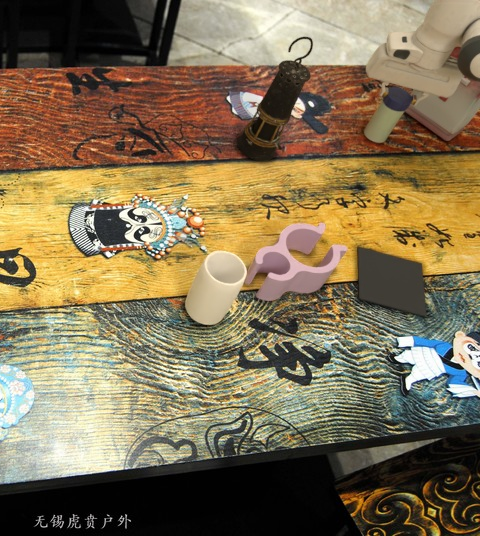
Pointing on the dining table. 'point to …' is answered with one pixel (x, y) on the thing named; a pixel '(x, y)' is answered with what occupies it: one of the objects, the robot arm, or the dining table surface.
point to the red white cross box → (448, 108)
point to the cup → (215, 287)
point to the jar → (382, 123)
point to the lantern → (275, 109)
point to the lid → (397, 99)
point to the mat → (391, 281)
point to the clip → (293, 263)
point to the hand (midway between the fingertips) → (396, 99)
